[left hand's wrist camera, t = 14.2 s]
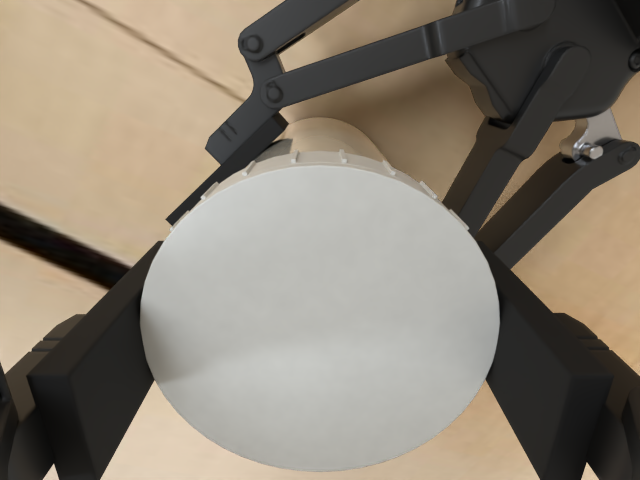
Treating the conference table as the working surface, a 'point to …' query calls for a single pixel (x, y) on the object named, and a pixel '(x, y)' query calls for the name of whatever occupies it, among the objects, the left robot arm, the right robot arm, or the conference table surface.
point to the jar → (322, 139)
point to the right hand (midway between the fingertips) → (249, 279)
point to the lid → (319, 313)
